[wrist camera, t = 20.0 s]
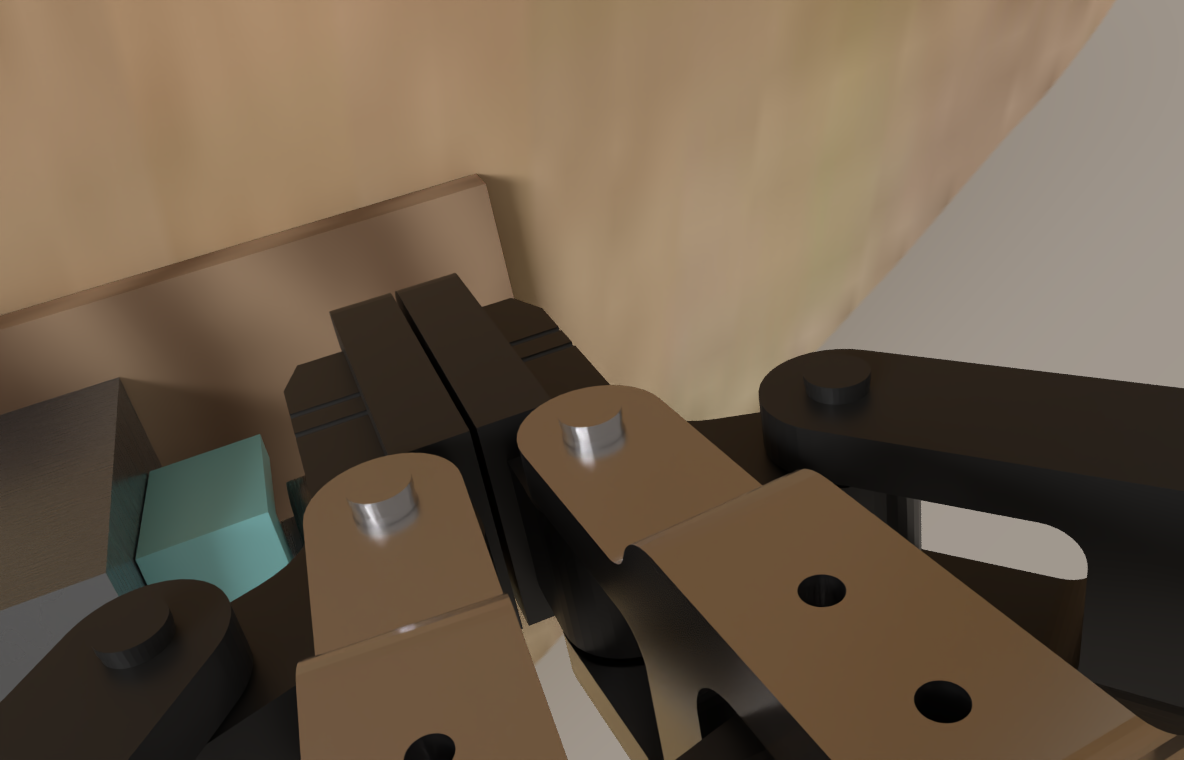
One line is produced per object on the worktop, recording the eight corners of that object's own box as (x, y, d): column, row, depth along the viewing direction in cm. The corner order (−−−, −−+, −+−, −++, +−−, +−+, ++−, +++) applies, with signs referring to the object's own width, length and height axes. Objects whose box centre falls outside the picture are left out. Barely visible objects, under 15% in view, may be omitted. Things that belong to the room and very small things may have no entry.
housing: (68, 636, 42) (39, 896, 31) (-54, 432, 37) (-137, 659, 26) (217, 581, 43) (237, 813, 33) (119, 376, 38) (105, 573, 28)
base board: (-22, 711, 44) (-27, 737, 42) (-245, 388, 36) (-260, 408, 34) (555, 493, 49) (565, 510, 48) (475, 173, 41) (485, 183, 40)
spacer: (206, 599, 40) (204, 706, 33) (149, 471, 37) (135, 559, 31) (310, 561, 40) (326, 657, 34) (259, 433, 38) (267, 512, 32)
